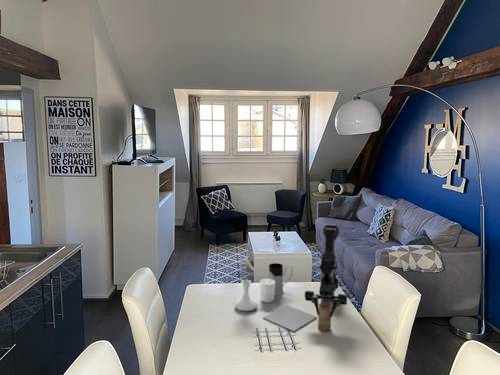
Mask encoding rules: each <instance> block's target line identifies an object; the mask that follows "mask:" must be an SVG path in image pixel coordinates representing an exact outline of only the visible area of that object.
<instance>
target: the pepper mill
mask: <svg viewBox="0 0 500 375" xmlns="http://www.w3.org/2000/svg"><path fill="white" fill-rule="evenodd" d="M330 303H331V301H329V300H325V299H320V303H318V308H319V316H318V317H317V318H318V323H317V326H318V327H317V329H318V331H320V332H322V333H323V332H324V333H326V332H330V331H331V326H332V324H331V323H332V322H331V321H332V317H331V310H332V304H330Z"/></svg>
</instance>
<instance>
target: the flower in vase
mask: <svg viewBox="0 0 500 375" xmlns="http://www.w3.org/2000/svg"><path fill="white" fill-rule="evenodd" d="M244 261H245V263H246V264H247V265H246V268H245V270H244V272H243V274H244V279H242V280H241V284H242V286H243V295H242V296H241V297H239V299H237V300H236V301H235V302H234V307H235V308H236V309H237V310H239V311H243V312H248V311H249V312H250V311H253V310H256V308H257V307H258V302H257V301H256V300H255V299H254V298H253V297H251V296H250V294H249V290H250V288H249V287H250V285H251V283H252V281H251V279H250V280H249V279H248V278H249V277H250V276H247V275H246V272H247V270H248V269H247V268H248V267H249V268H250V269H251V271H253V272H254V271H255V268H254V267H253V264H252V262H250V260H249V259H248V258H247V257H244Z"/></svg>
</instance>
